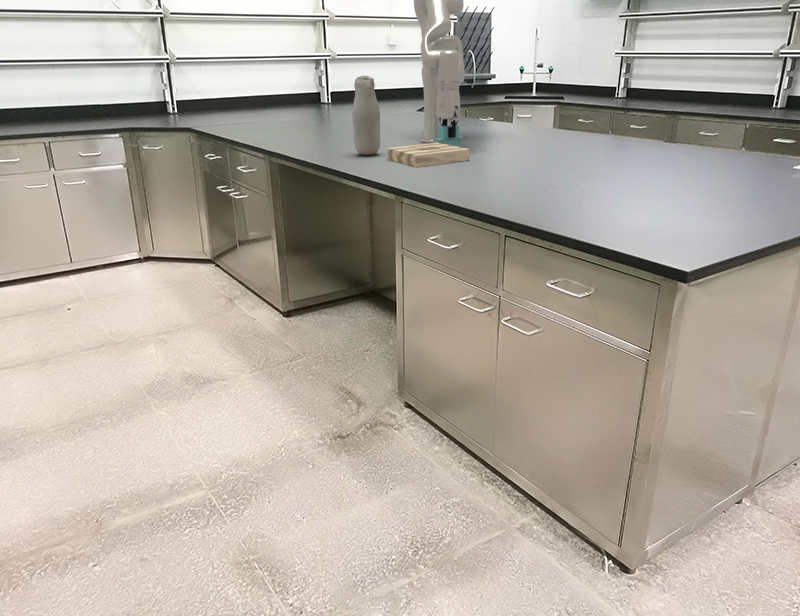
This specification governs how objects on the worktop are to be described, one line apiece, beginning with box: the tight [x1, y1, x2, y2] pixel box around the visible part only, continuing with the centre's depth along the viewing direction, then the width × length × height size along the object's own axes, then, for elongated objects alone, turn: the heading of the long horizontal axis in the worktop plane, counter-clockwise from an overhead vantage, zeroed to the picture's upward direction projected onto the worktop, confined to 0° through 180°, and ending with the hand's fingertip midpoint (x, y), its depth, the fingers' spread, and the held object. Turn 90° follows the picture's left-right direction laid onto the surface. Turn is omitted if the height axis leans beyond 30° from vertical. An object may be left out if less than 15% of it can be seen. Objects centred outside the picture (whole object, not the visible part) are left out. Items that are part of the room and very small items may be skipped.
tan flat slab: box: [386, 143, 471, 168], centre depth 223 cm, size 20×22×4 cm
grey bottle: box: [351, 75, 381, 156], centre depth 231 cm, size 10×10×28 cm
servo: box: [433, 124, 465, 147], centre depth 240 cm, size 4×12×10 cm, turn 121°
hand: (448, 136), depth 240 cm, fingers closed on servo, 4 cm apart
